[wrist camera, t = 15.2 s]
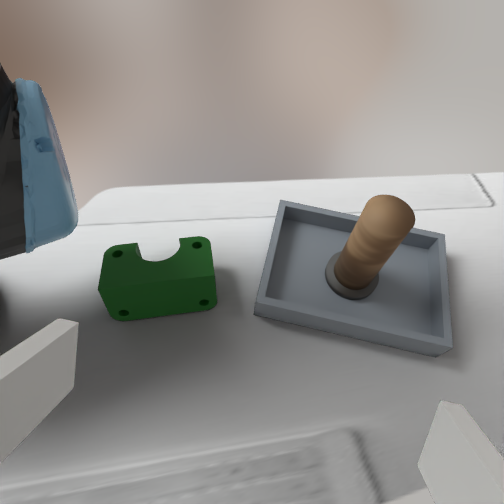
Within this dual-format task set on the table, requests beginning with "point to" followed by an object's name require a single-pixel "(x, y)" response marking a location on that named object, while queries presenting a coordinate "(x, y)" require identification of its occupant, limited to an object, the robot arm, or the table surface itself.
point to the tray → (365, 310)
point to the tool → (369, 247)
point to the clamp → (158, 281)
